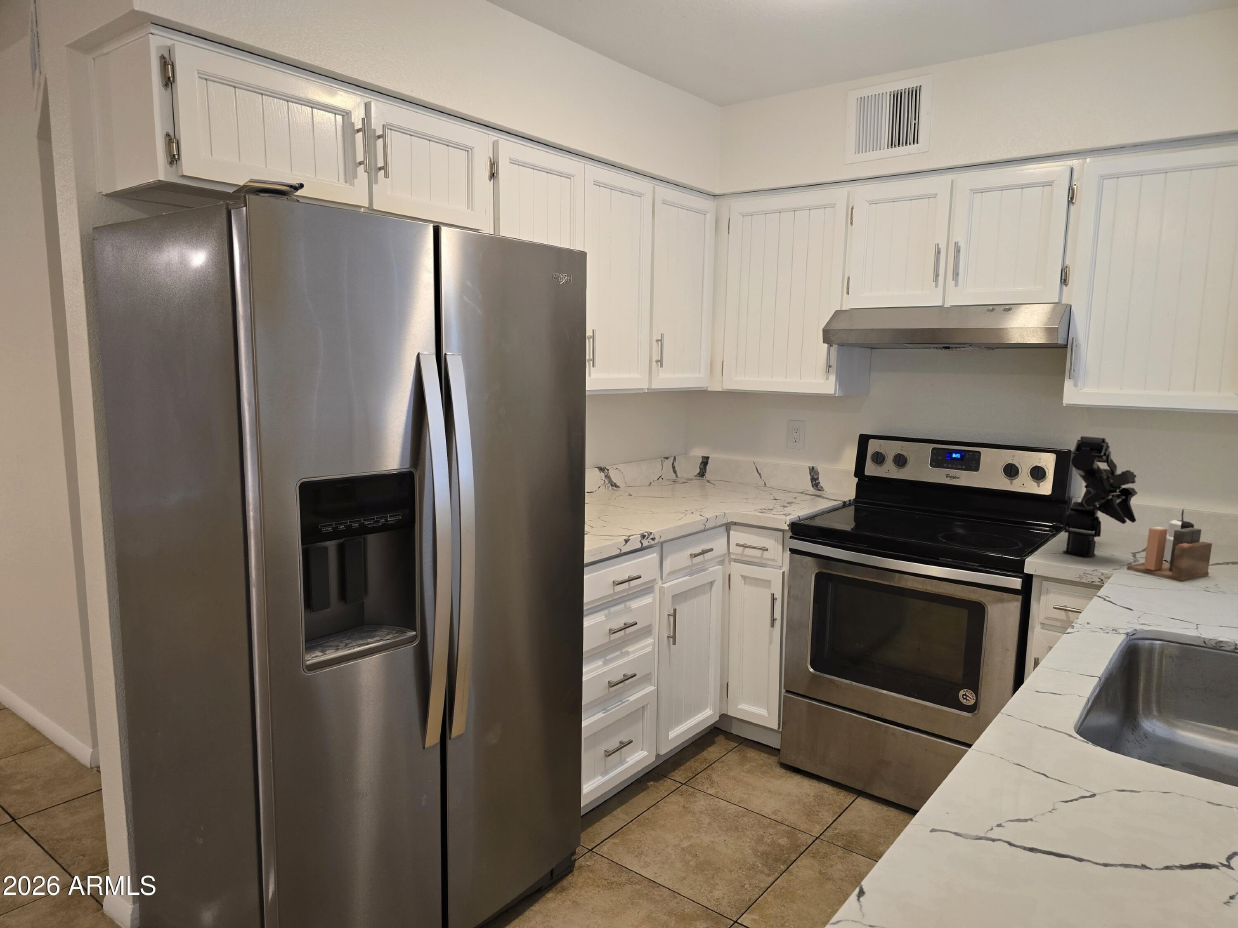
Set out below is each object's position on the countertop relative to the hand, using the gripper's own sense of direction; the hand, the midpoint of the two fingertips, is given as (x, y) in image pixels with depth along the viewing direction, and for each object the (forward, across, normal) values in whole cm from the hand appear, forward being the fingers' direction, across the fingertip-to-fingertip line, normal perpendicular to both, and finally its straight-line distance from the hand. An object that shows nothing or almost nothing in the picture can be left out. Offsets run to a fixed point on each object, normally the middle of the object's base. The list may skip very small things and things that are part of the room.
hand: (1129, 522), depth 225 cm
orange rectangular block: (+13, 0, +3) cm, 13 cm away
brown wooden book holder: (+15, +5, +3) cm, 16 cm away
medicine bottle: (+11, +24, +7) cm, 27 cm away
